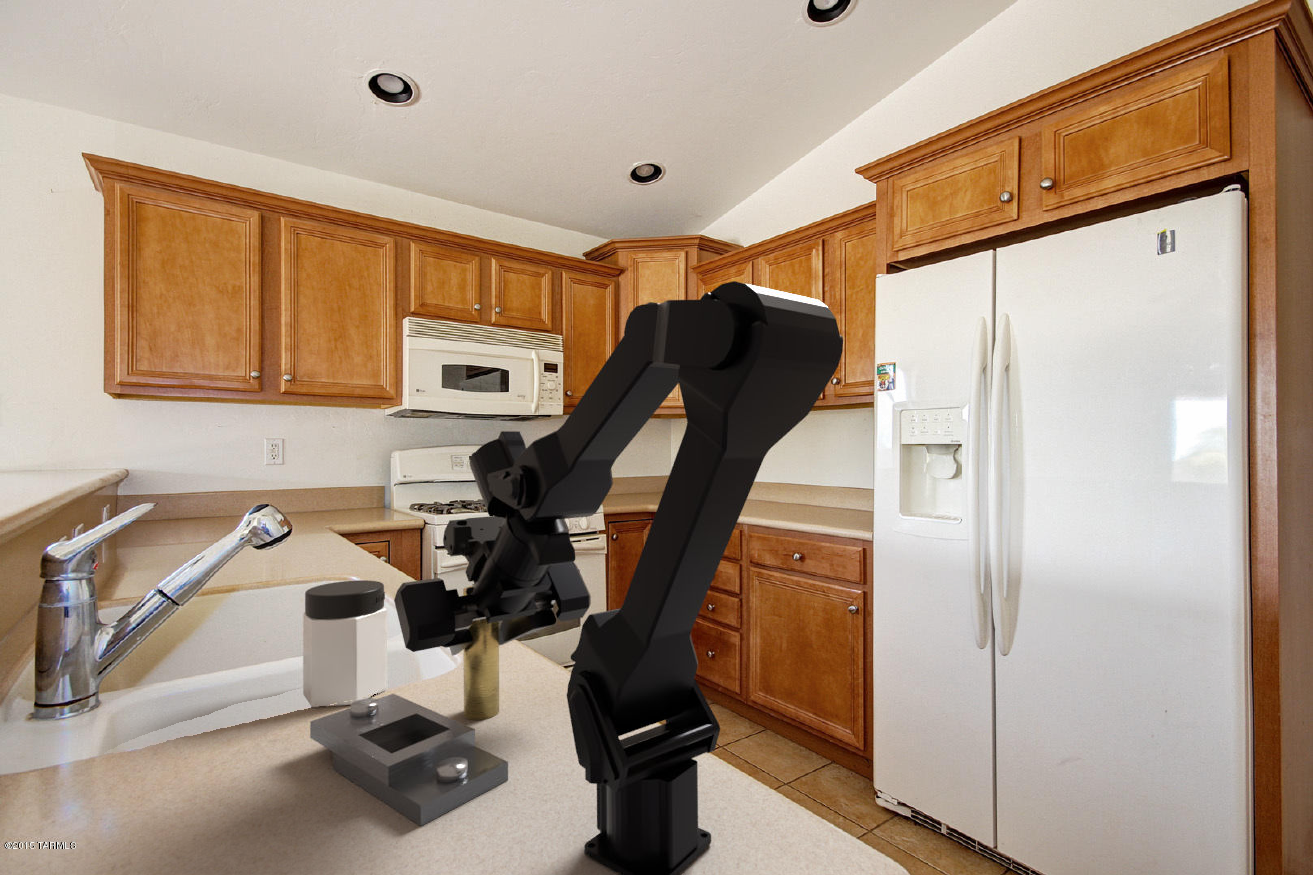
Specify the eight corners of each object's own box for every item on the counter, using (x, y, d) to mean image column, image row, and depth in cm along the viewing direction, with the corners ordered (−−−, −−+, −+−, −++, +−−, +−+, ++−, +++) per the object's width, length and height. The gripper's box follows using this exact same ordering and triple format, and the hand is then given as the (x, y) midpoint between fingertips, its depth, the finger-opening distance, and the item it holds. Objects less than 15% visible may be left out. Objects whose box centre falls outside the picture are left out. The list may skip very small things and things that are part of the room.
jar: (395, 695, 71) (395, 588, 71) (314, 715, 65) (314, 600, 66) (372, 673, 78) (372, 576, 78) (298, 690, 72) (297, 586, 73)
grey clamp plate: (508, 779, 52) (507, 733, 52) (420, 826, 46) (420, 773, 46) (393, 723, 63) (393, 685, 63) (310, 754, 57) (310, 712, 57)
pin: (506, 710, 66) (505, 587, 66) (477, 722, 63) (477, 593, 63) (485, 702, 68) (484, 583, 68) (456, 713, 65) (456, 589, 66)
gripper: (576, 487, 69) (530, 573, 77) (399, 496, 57) (369, 596, 66) (617, 569, 62) (563, 653, 71) (428, 599, 51) (390, 694, 59)
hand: (476, 645), depth 67 cm, fingers open, 5 cm apart
